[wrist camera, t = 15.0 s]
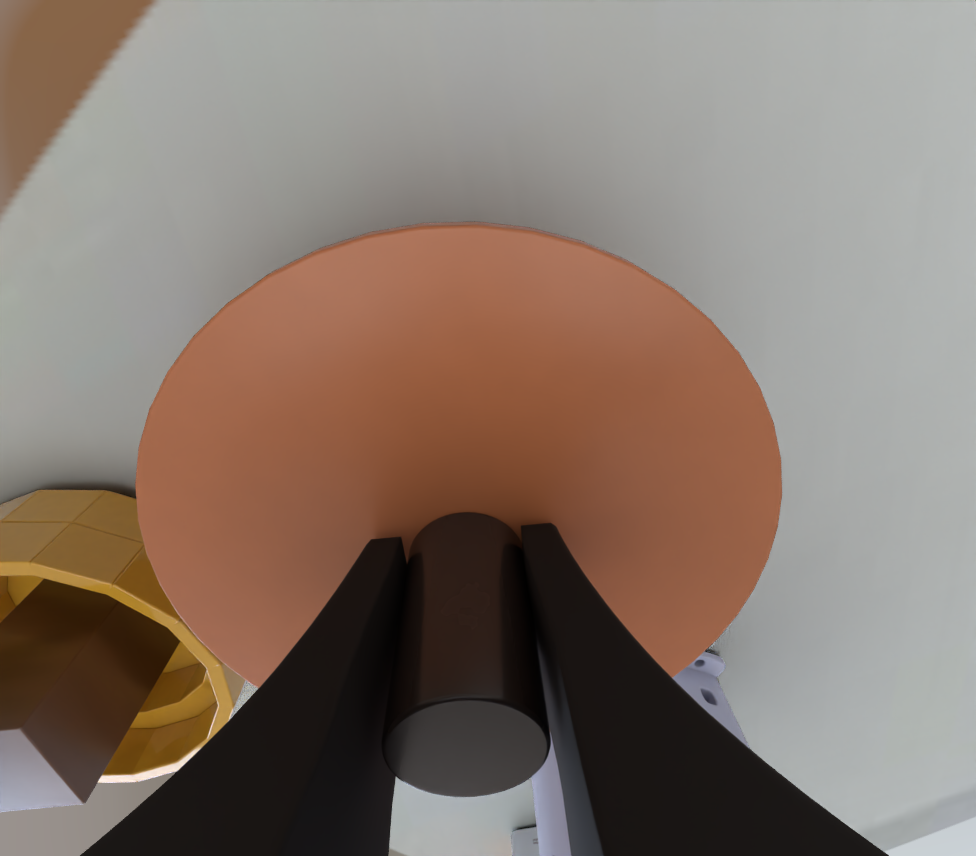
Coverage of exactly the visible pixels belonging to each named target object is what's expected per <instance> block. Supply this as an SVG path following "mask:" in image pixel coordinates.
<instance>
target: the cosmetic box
mask: <svg viewBox="0 0 976 856" xmlns="http://www.w3.org/2000/svg"><path fill="white" fill-rule="evenodd" d="M511 844H512V856H540V854H539V844H538V835H537V827H533V828H527V829H521V830H515V831H513V832H512V833H511Z"/></svg>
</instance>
